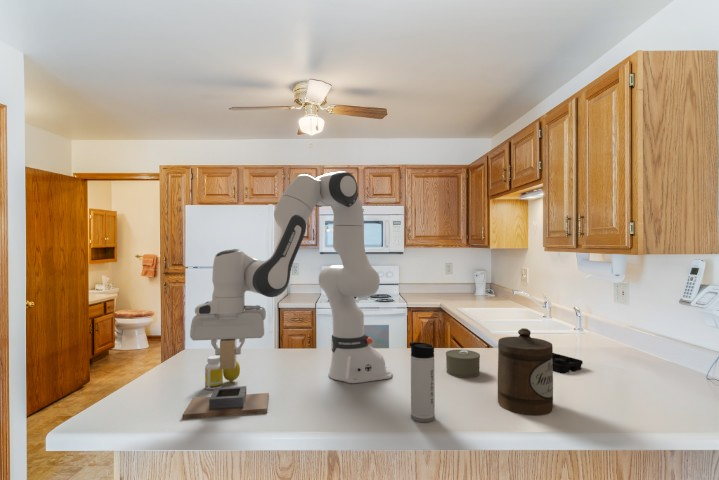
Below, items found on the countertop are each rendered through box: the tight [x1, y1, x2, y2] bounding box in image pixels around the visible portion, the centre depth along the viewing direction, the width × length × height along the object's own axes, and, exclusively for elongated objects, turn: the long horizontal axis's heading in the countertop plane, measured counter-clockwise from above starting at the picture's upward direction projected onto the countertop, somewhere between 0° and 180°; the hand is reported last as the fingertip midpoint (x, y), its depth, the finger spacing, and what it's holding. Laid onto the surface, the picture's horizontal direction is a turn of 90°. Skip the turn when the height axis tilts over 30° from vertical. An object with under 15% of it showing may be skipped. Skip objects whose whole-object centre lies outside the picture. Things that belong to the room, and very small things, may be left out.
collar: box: [209, 385, 247, 410], centre depth 117 cm, size 9×9×3 cm
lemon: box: [223, 360, 241, 383], centre depth 138 cm, size 6×6×8 cm
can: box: [445, 349, 481, 379], centre depth 147 cm, size 12×12×7 cm
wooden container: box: [497, 327, 554, 416], centre depth 118 cm, size 15×15×22 cm
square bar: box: [219, 339, 237, 370], centre depth 117 cm, size 4×4×8 cm
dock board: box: [182, 392, 270, 420], centre depth 117 cm, size 22×12×1 cm, turn 100°
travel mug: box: [408, 341, 436, 423], centre depth 109 cm, size 6×7×20 cm
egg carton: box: [552, 352, 584, 374], centre depth 161 cm, size 18×30×4 cm, turn 40°
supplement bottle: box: [204, 355, 224, 391], centre depth 133 cm, size 5×5×10 cm
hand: (228, 354), depth 117 cm, fingers closed on square bar, 4 cm apart
